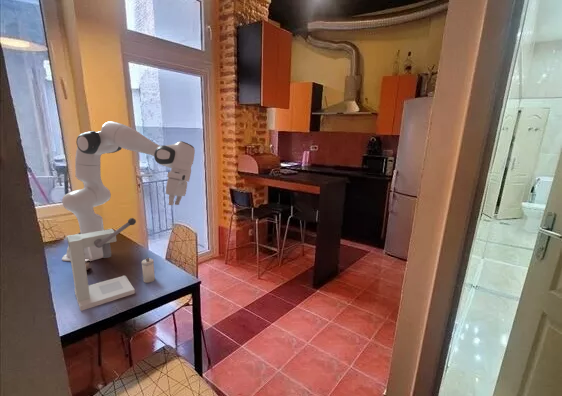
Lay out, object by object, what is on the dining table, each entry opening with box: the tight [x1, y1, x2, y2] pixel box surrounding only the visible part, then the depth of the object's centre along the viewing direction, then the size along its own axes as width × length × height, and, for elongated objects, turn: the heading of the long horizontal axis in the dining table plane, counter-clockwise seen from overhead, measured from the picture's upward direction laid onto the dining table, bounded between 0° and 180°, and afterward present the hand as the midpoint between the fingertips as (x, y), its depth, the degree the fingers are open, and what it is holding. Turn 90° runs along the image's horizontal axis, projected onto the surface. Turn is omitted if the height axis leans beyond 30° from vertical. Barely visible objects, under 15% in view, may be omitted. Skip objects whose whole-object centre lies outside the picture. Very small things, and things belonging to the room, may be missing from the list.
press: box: [66, 217, 137, 312], centre depth 123 cm, size 24×16×34 cm
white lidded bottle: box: [141, 257, 156, 284], centre depth 136 cm, size 5×5×12 cm
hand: (173, 204), depth 134 cm, fingers open, 8 cm apart
